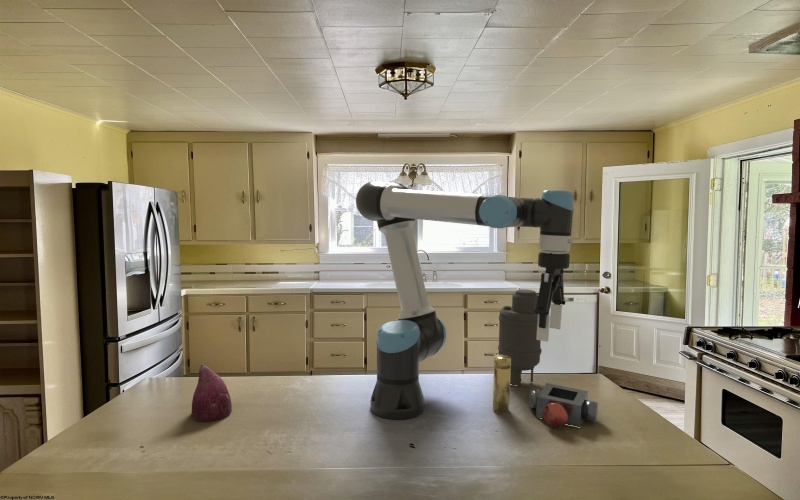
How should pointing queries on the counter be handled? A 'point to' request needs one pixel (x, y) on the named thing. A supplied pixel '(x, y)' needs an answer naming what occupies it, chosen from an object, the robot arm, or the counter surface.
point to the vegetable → (210, 397)
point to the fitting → (501, 383)
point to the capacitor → (520, 334)
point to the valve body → (562, 405)
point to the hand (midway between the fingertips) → (548, 334)
